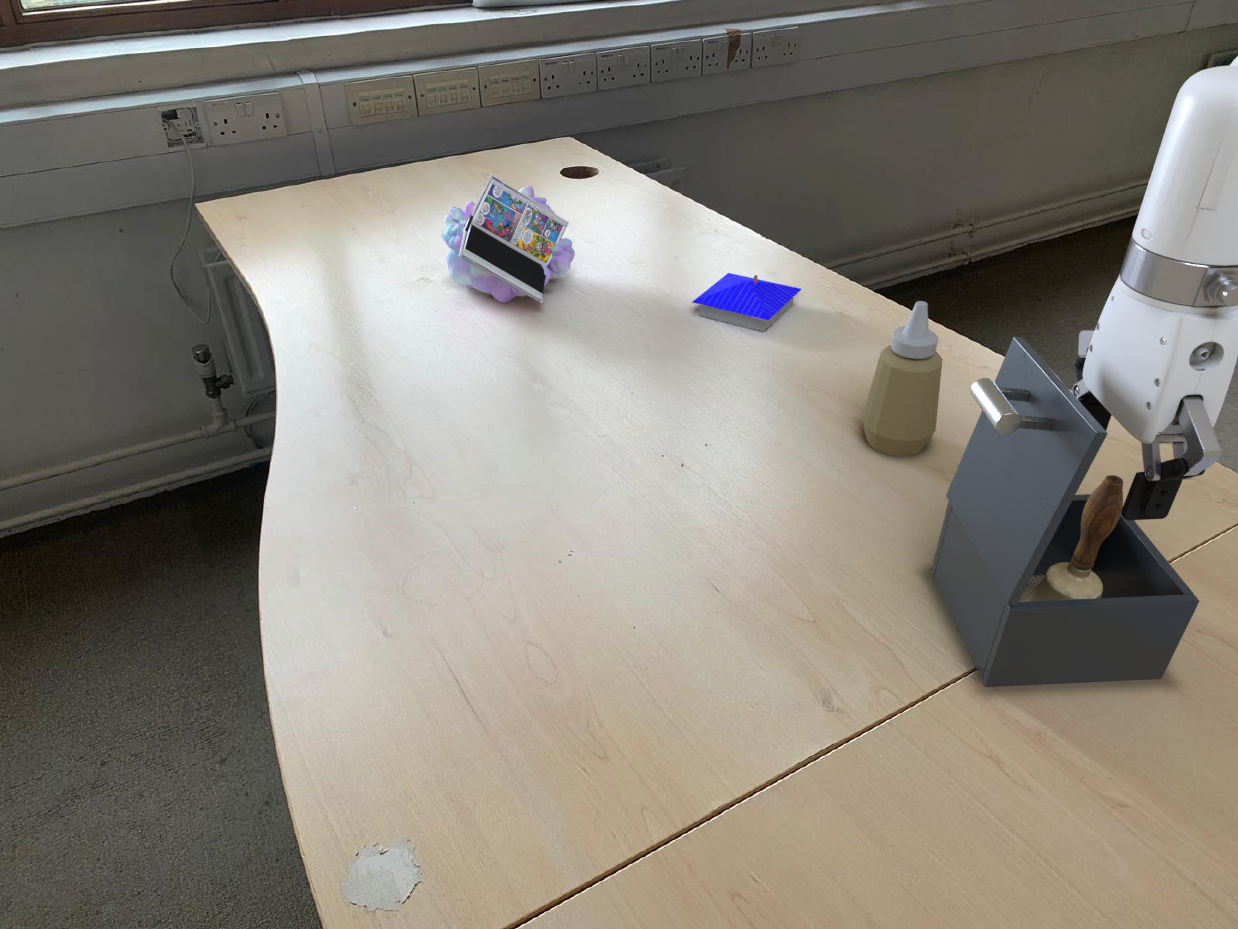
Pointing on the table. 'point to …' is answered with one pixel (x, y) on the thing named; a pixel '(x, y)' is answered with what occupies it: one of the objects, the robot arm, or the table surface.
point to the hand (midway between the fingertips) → (1110, 477)
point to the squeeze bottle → (905, 389)
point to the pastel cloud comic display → (506, 243)
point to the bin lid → (1021, 466)
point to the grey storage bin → (1067, 610)
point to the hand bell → (1083, 549)
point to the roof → (746, 301)
